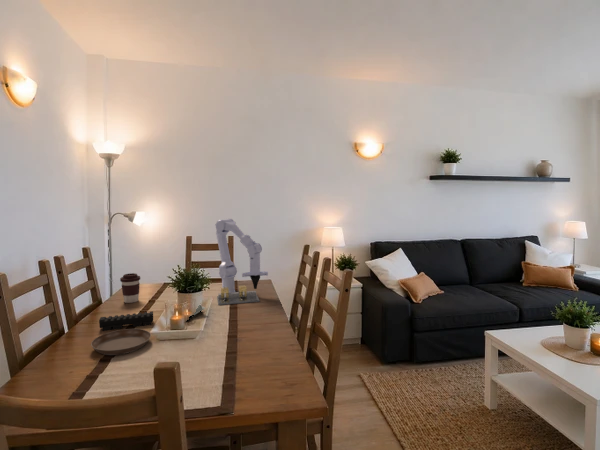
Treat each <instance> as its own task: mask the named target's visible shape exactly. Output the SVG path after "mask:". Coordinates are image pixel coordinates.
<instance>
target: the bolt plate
mask: <svg viewBox="0 0 600 450" xmlns="http://www.w3.org/2000/svg"><path fill="white" fill-rule="evenodd" d="M216 299H217V305H218V306H222V305H223V306H225V305H226V306H227V305H237V304H238V305H239V304H250V303H259V302H260V298H259V296H258V295H257V294H256V296H249V297H245V298H243V297H236V298H226V301H225V300H224V299H218V295H217V298H216Z"/></svg>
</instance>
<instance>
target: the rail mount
mask: <svg viewBox="0 0 600 450" xmlns="http://www.w3.org/2000/svg"><path fill="white" fill-rule="evenodd" d="M98 320H99V321H98V323H99V326H98V327H99V329H102V331H103V332H105V331H112V330H113V331H116V330H123V326H129V325H132V326H133V328H137V327H146V326H152V325H153V324H152V322H154V310H153V311H149V312H147V311H144V313H142V312H138V313H137V314H136V313H135V312H134V313H132V314H130V313H127V314H126V315H124V314H121V315H118V314H117V315H116V314H115V315H114V316H112V315H109V316H108V317H106V316H101V317H100V318H99V319H98Z"/></svg>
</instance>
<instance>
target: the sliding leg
mask: <svg viewBox="0 0 600 450" xmlns="http://www.w3.org/2000/svg"><path fill="white" fill-rule="evenodd" d="M247 291H248V290H247V285H238V292H239V297H243V298H245V296H247Z"/></svg>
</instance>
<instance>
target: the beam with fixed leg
mask: <svg viewBox="0 0 600 450" xmlns="http://www.w3.org/2000/svg"><path fill="white" fill-rule="evenodd" d="M256 295H257V291H256V290H247V296H245V297H249V296H256ZM217 296H218V299H224V300H225V301H226V298H236V297H239V291H235V292H232V293H229V289H228V287H224V288H222V287H220V293H219V292H218V294H217Z"/></svg>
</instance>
